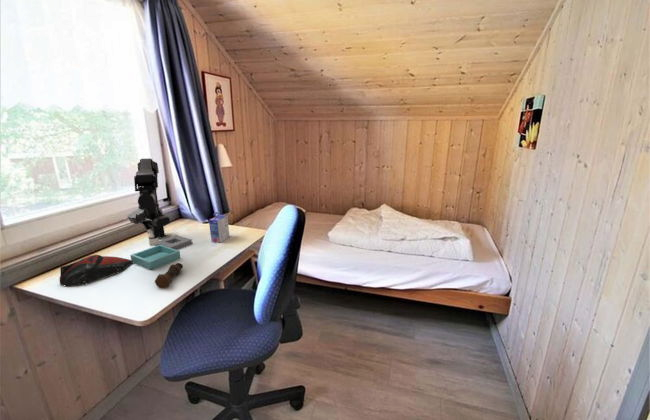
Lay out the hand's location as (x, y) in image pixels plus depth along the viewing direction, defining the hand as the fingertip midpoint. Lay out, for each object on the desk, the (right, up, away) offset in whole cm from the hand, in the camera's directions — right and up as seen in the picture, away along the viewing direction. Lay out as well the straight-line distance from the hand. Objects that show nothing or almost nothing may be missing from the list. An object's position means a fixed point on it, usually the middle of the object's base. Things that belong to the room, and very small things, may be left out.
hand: (153, 236), depth 137 cm
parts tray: (0, -11, +3) cm, 11 cm away
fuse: (0, -3, +1) cm, 4 cm away
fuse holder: (-1, -6, +20) cm, 21 cm away
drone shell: (-17, -14, -10) cm, 25 cm away
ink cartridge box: (+20, -4, +29) cm, 35 cm away
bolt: (+14, -16, -12) cm, 24 cm away
